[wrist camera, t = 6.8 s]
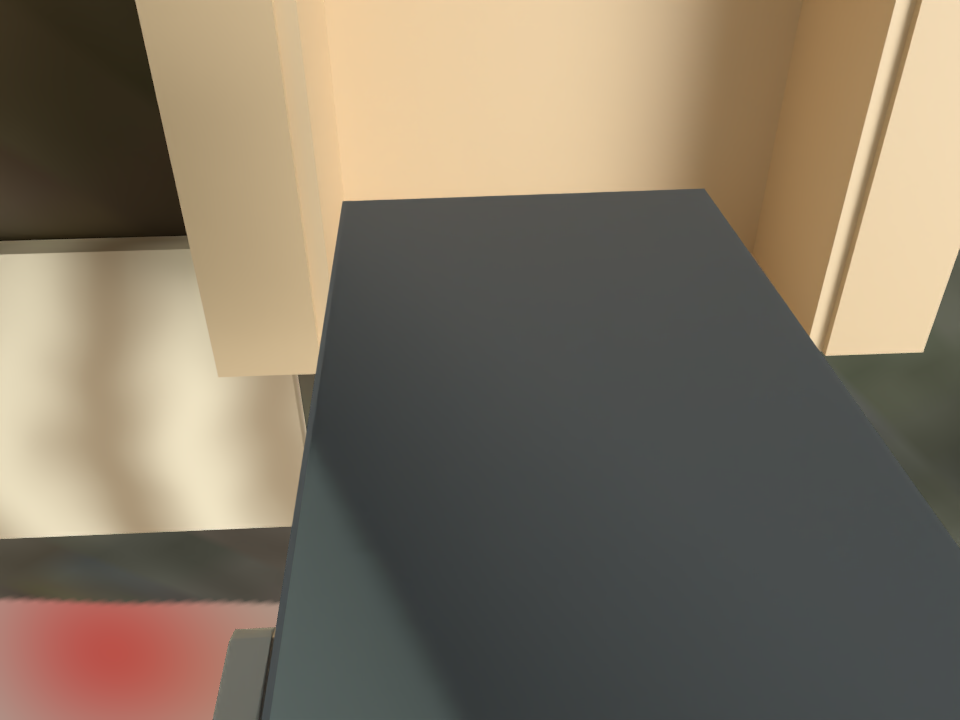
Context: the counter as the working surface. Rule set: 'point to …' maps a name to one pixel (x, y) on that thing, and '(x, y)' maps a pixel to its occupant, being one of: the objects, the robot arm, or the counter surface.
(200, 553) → the counter surface
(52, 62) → the counter surface
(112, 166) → the counter surface
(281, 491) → the birch board
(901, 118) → the carton
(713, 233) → the slate-blue box
